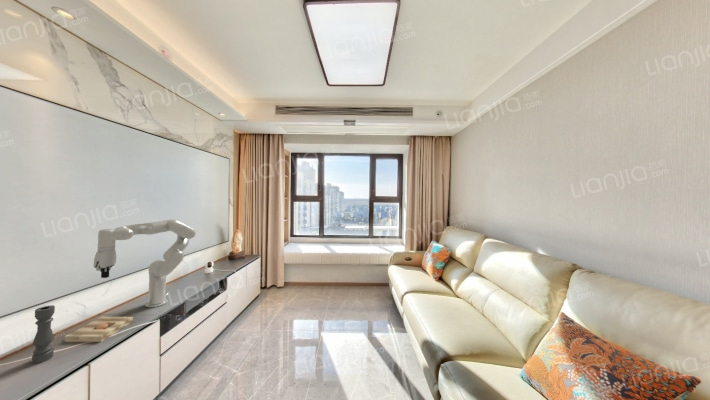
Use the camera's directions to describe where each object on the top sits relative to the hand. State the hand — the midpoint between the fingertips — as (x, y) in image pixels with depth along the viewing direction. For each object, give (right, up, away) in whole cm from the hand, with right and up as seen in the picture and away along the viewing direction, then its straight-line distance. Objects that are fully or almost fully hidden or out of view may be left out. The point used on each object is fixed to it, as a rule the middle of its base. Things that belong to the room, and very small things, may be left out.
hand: (105, 277), depth 144 cm
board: (+9, -28, -10) cm, 31 cm away
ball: (+11, -26, -11) cm, 30 cm away
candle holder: (+7, -28, -34) cm, 45 cm away
